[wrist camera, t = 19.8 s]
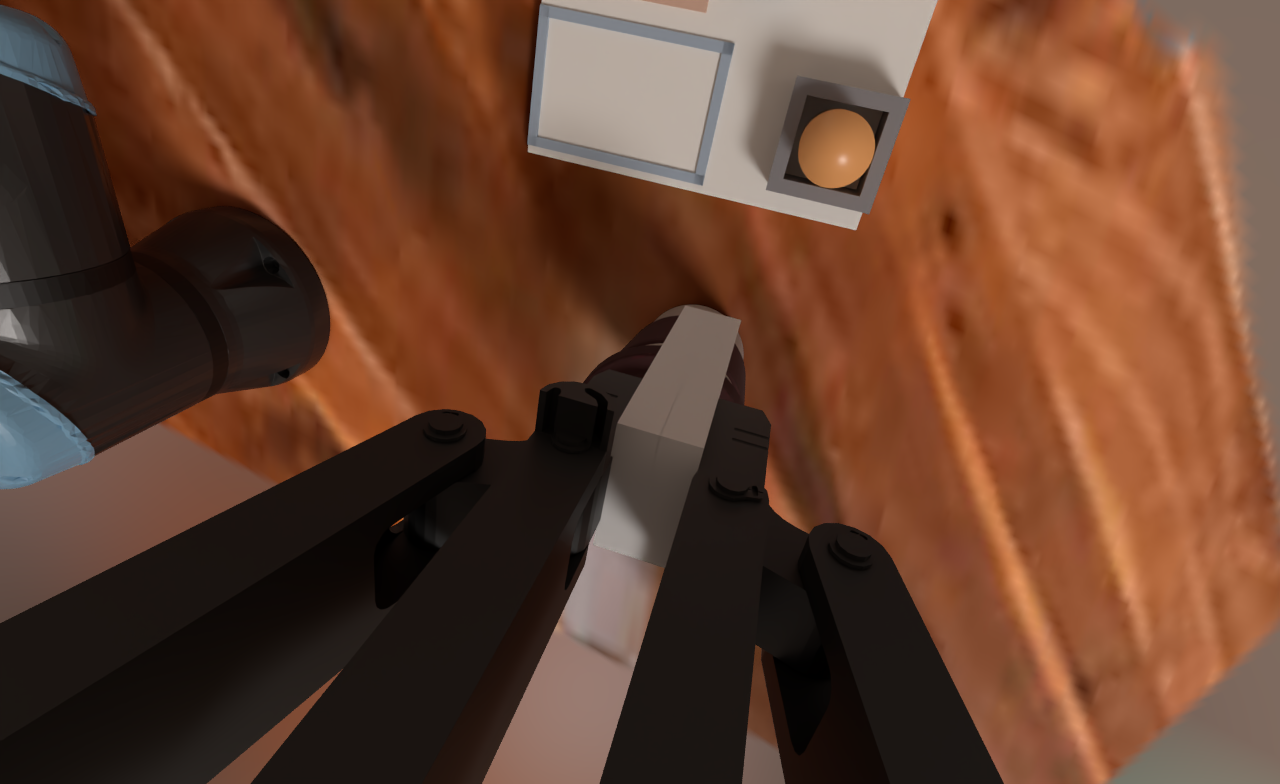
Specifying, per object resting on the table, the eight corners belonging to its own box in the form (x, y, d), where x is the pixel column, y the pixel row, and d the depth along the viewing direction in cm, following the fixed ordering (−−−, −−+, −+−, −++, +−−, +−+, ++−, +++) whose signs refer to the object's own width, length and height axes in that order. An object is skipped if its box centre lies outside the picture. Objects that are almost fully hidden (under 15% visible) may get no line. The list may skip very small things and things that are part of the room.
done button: (790, 169, 37) (789, 179, 33) (810, 101, 35) (811, 102, 31) (853, 183, 37) (859, 195, 32) (876, 115, 35) (886, 118, 30)
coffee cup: (680, 255, 42) (624, 327, 29) (792, 342, 43) (786, 450, 30) (605, 356, 47) (526, 457, 34) (706, 433, 47) (668, 561, 34)
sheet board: (532, 151, 41) (508, 155, 38) (561, -151, 34) (534, -177, 31) (855, 227, 39) (859, 240, 35) (964, -83, 31) (983, -104, 28)
